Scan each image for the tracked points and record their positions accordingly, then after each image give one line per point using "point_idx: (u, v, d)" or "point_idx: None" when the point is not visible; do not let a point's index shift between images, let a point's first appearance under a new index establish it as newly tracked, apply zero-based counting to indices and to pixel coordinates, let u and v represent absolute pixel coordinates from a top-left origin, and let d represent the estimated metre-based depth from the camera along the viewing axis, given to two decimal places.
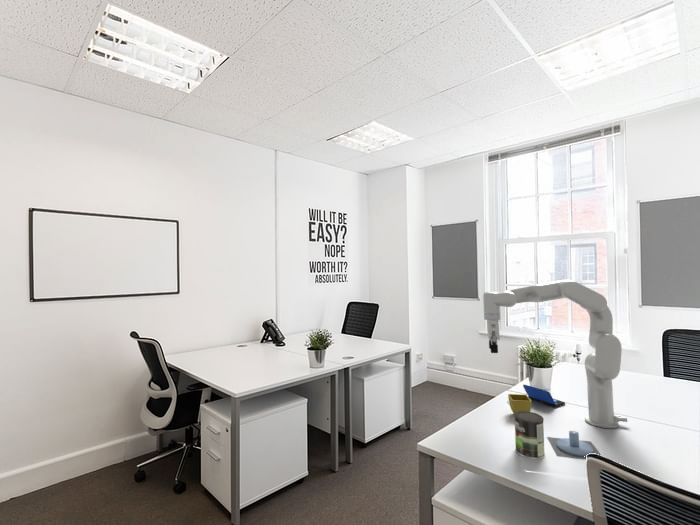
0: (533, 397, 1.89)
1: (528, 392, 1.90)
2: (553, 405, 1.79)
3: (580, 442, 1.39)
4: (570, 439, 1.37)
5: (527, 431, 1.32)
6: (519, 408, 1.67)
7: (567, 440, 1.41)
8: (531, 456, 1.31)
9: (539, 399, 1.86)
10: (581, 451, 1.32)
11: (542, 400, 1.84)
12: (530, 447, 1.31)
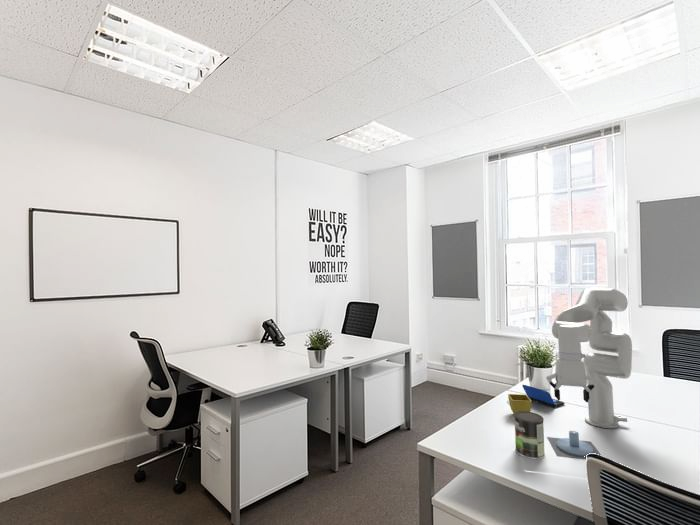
0: (532, 397, 1.89)
1: (528, 392, 1.90)
2: (552, 405, 1.79)
3: (580, 442, 1.39)
4: (570, 439, 1.37)
5: (527, 431, 1.32)
6: (519, 408, 1.67)
7: (567, 440, 1.41)
8: (531, 456, 1.31)
9: (538, 399, 1.85)
10: (581, 451, 1.32)
11: (541, 400, 1.84)
12: (530, 447, 1.31)
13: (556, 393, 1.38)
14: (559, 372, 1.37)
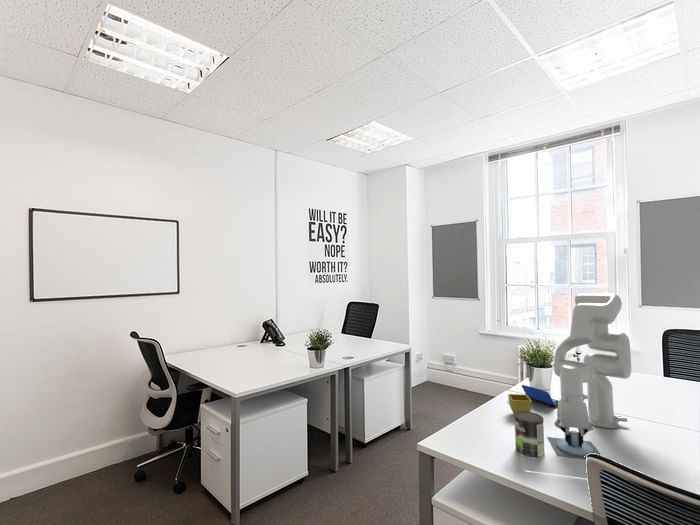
0: (532, 397, 1.88)
1: (527, 392, 1.89)
2: (552, 405, 1.79)
3: None
4: None
5: (527, 431, 1.32)
6: (519, 408, 1.67)
7: None
8: (531, 456, 1.31)
9: (538, 399, 1.85)
10: (581, 451, 1.32)
11: (541, 400, 1.84)
12: (530, 447, 1.31)
13: (567, 438, 1.37)
14: (561, 413, 1.37)
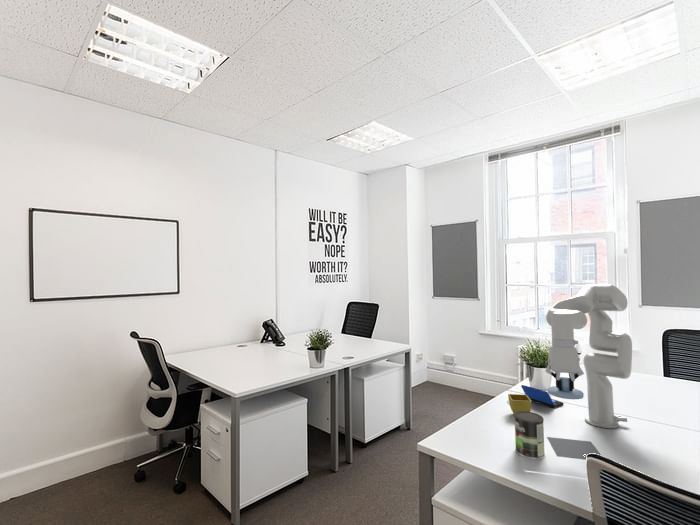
0: (531, 397, 1.88)
1: (526, 393, 1.89)
2: (552, 405, 1.79)
3: None
4: None
5: (527, 431, 1.32)
6: (519, 408, 1.67)
7: None
8: (531, 456, 1.31)
9: (537, 399, 1.85)
10: (572, 394, 1.33)
11: (540, 400, 1.84)
12: (530, 447, 1.31)
13: (558, 384, 1.37)
14: (552, 358, 1.37)
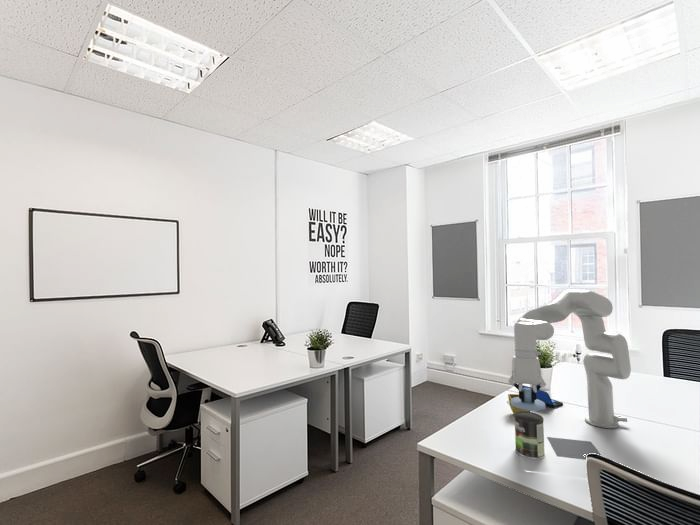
0: None
1: None
2: (551, 406, 1.78)
3: None
4: None
5: (527, 431, 1.32)
6: None
7: None
8: (531, 456, 1.31)
9: None
10: (533, 406, 1.31)
11: None
12: (530, 447, 1.31)
13: (520, 395, 1.36)
14: (514, 369, 1.36)
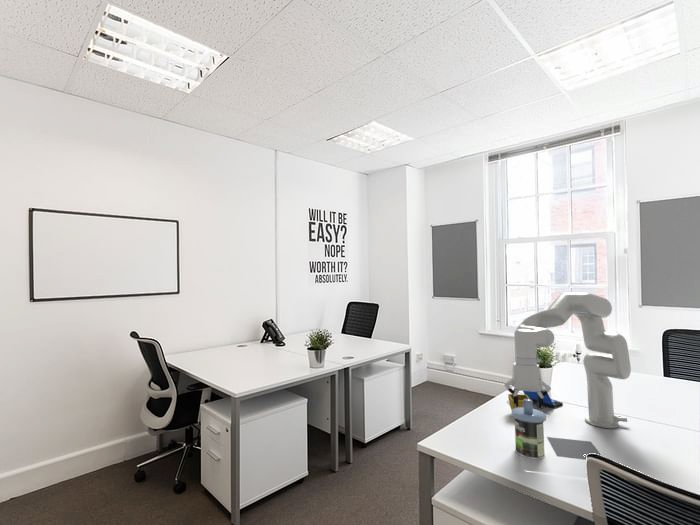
0: (531, 398, 1.88)
1: (526, 393, 1.89)
2: (551, 406, 1.78)
3: (535, 410, 1.38)
4: (524, 407, 1.36)
5: (527, 431, 1.32)
6: None
7: (522, 409, 1.40)
8: (531, 456, 1.31)
9: None
10: (533, 418, 1.31)
11: None
12: (530, 447, 1.31)
13: (515, 400, 1.37)
14: (515, 377, 1.36)
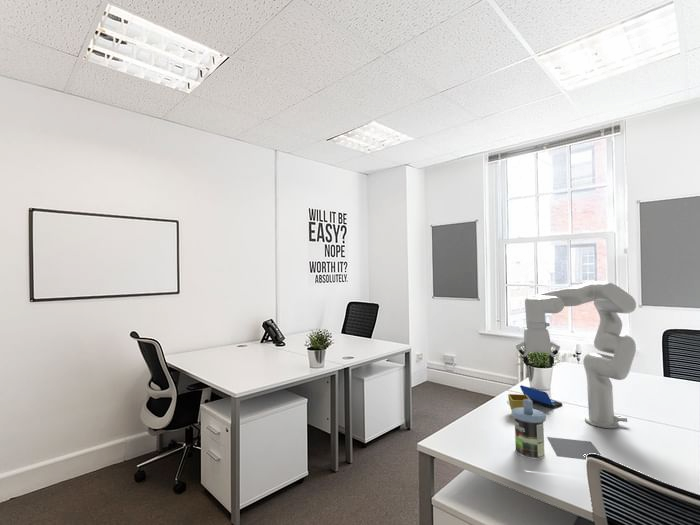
0: (530, 398, 1.88)
1: (525, 393, 1.89)
2: (550, 406, 1.78)
3: (535, 410, 1.38)
4: (524, 407, 1.36)
5: (527, 432, 1.32)
6: None
7: (522, 409, 1.40)
8: (531, 456, 1.31)
9: (536, 400, 1.85)
10: (533, 418, 1.31)
11: (539, 401, 1.83)
12: (530, 447, 1.31)
13: (525, 359, 1.52)
14: (527, 340, 1.51)
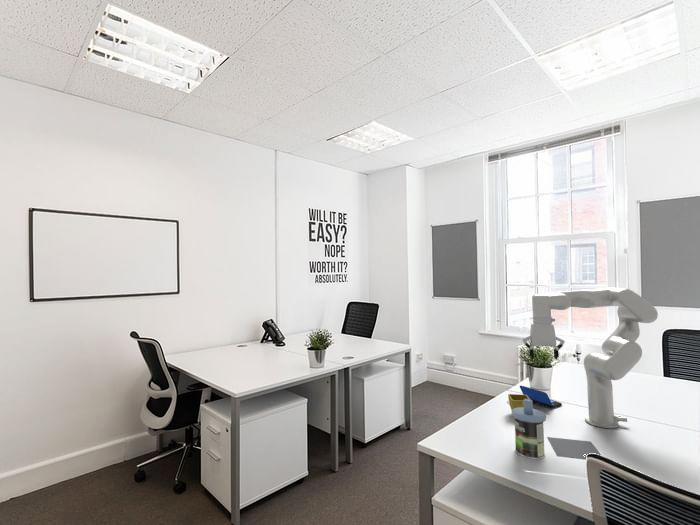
0: (530, 398, 1.87)
1: (525, 393, 1.88)
2: (550, 406, 1.78)
3: (535, 410, 1.38)
4: (524, 407, 1.36)
5: (527, 431, 1.32)
6: None
7: (522, 409, 1.40)
8: (531, 456, 1.31)
9: (536, 400, 1.84)
10: (533, 418, 1.31)
11: (539, 401, 1.83)
12: (530, 447, 1.31)
13: (530, 352, 1.61)
14: (533, 334, 1.60)
